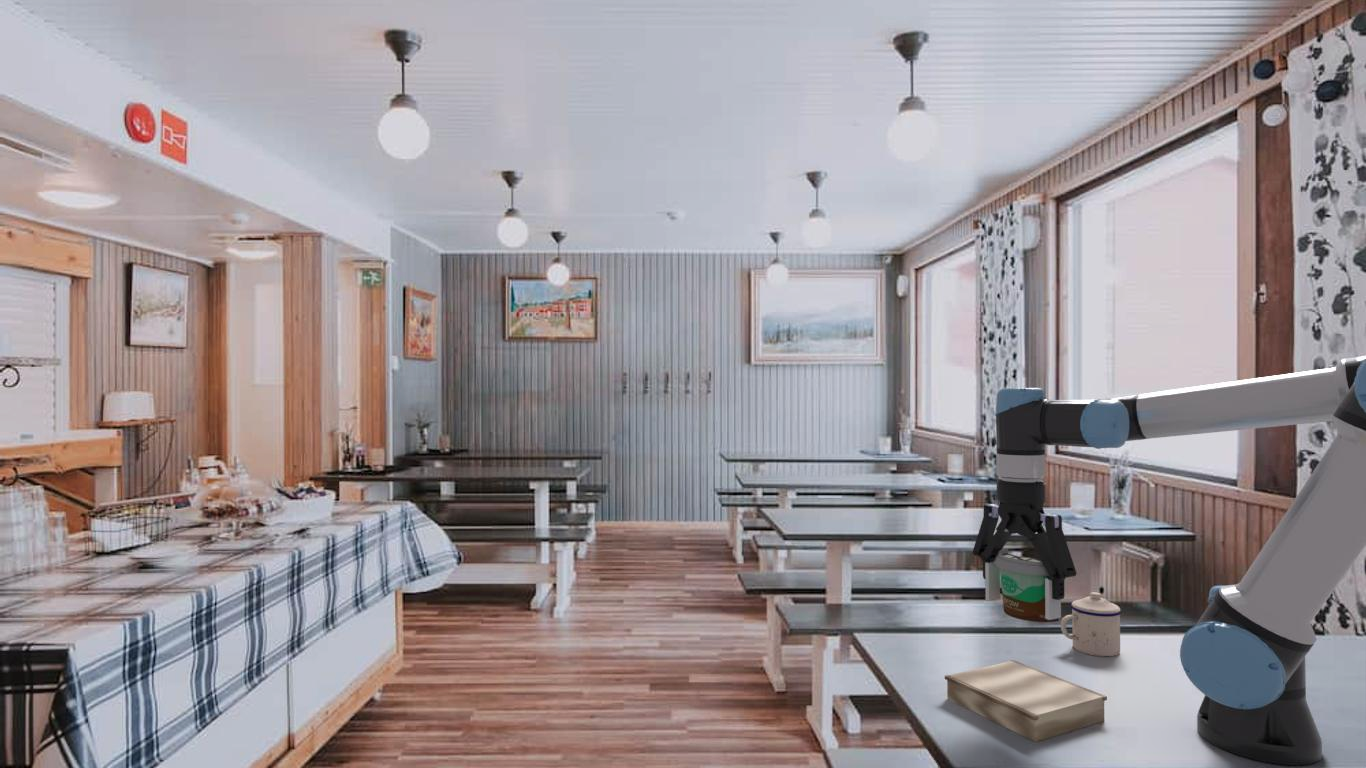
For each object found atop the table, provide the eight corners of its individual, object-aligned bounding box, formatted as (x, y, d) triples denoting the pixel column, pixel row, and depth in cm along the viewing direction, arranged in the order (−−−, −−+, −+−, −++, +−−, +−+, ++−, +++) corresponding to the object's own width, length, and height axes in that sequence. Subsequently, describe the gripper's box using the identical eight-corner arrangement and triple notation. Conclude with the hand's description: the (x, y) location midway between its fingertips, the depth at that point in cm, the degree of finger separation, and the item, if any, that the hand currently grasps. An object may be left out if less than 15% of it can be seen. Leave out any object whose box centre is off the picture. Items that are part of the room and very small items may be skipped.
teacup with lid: (1102, 641, 160) (1102, 586, 160) (1131, 656, 151) (1131, 598, 151) (1049, 643, 159) (1048, 588, 159) (1075, 659, 150) (1074, 600, 150)
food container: (979, 608, 131) (979, 551, 131) (1005, 604, 134) (1004, 547, 134) (1039, 629, 120) (1039, 566, 120) (1066, 623, 123) (1065, 562, 123)
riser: (1107, 721, 122) (1106, 696, 122) (1034, 742, 115) (1034, 716, 115) (1013, 681, 139) (1013, 659, 139) (944, 698, 132) (944, 675, 132)
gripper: (1101, 485, 118) (1102, 625, 118) (981, 470, 140) (982, 588, 140) (1068, 488, 115) (1069, 632, 115) (950, 473, 136) (951, 593, 136)
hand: (1021, 608), depth 127 cm, fingers closed on food container, 11 cm apart
